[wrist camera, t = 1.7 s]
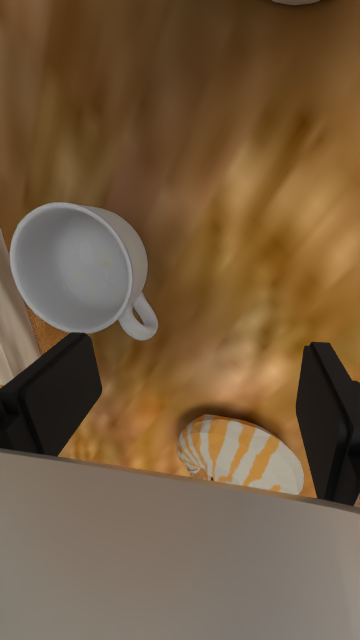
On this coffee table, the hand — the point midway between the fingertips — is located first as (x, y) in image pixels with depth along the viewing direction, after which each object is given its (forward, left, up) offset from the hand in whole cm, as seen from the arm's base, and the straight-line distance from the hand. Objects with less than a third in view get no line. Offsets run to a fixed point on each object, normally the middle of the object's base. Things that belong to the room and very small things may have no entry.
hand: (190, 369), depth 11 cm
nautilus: (-2, +27, -18) cm, 32 cm away
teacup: (+11, 0, -18) cm, 21 cm away
